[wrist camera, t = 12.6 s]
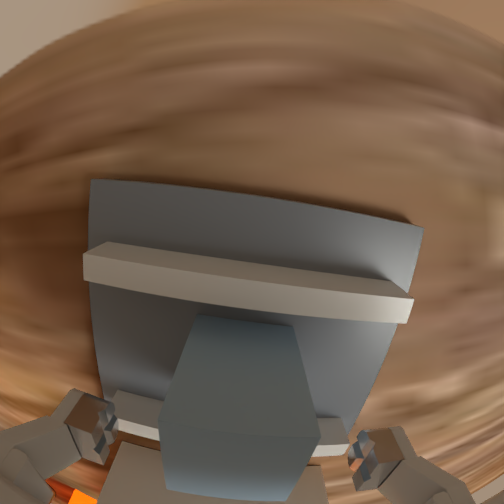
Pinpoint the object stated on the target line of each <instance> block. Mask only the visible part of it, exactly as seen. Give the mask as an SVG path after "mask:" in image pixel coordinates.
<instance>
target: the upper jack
mask: <svg viewBox="0 0 504 504" xmlns="http://www.w3.org/2000/svg"><path fill="white" fill-rule="evenodd" d="M96 504H329V502H328V497H327V493H326V488H325V483H324V478H323V473H322V468H321V466H306V467H305V469H304V471H303V473H302V475H301V476H300V478H299V480H298V482H297V483H296V485H295V487H294V488H293V490H292V492H291V493H290V495H289V497H288V498H287V500H286V501H249V500H235V499H225V498H216V497H208V496H201V495H195V494H189V493H183V492H178V491H173V490H168V489H166V483H165V477H164V470H163V463H162V456H161V451H158V450H154V449H150V448H146V447H142V446H138V445H134V444H131V443H128V442H124V441H122V443H121V445H120V447H119V450H118V452H117V454H116V457H115V459H114V461H113V464H112V466H111V468H110V471H109V473H108V476H107V478H106V480H105V483H104V485H103V488H102V490H101V493H100V495H99V498H98V500H97V503H96Z"/></svg>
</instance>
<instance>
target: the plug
mask: <svg viewBox="0 0 504 504" xmlns="http://www.w3.org/2000/svg"><path fill="white" fill-rule="evenodd" d="M157 421H158V431H159V440H160V448H161V456H162V463H163V470H164V477H165V483H166V489H168V490H173V491H178V492H183V493H189V494H195V495H201V496H208V497H216V498H225V499H235V500H249V501H286V500H287V498H288V497H289V495H290V493H291V492H292V490H293V488H294V487H295V485H296V483H297V482H298V480H299V478H300V476H301V475H302V473H303V471H304V469H305V467H306V465H307V464H308V462H309V460H310V458H311V456H312V454H313V452H314V450H315V448H316V446H317V444H318V442H319V440H320V438H321V434H320V430H319V426H318V421H317V417H316V413H315V409H314V405H313V401H312V397H311V393H310V389H309V385H308V381H307V377H306V373H305V370H304V366H303V362H302V358H301V354H300V350H299V346H298V342H297V339H296V335H295V331H294V327H292V326H282V325H273V324H265V323H257V322H249V321H241V320H234V319H227V318H220V317H213V316H206V315H200V314H197V315H196V318H195V320H194V323H193V326H192V328H191V331H190V333H189V336H188V339H187V341H186V344H185V346H184V349H183V352H182V354H181V357H180V360H179V362H178V365H177V368H176V370H175V373H174V376H173V378H172V381H171V384H170V387H169V389H168V392H167V395H166V397H165V400H164V403H163V406H162V409H161V411H160V414H159V417H158V420H157Z"/></svg>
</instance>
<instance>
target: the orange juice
mask: <svg viewBox="0 0 504 504" xmlns="http://www.w3.org/2000/svg"><path fill="white" fill-rule="evenodd" d="M96 503H97V500H95V499H93V498H91V497H89V496H87V495H85V494H83V493H82V492H80V491H78V490H76V489H75V490H74V492H73V495H72V497H71V499H70V501H69V503H68V504H96Z"/></svg>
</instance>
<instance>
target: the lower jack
mask: <svg viewBox="0 0 504 504" xmlns="http://www.w3.org/2000/svg"><path fill="white" fill-rule="evenodd" d="M423 232H424V228H423V227H420V226H417V225H414V224H410V223H406V222H401V221H397V220H392V219H388V218H383V217H378V216H374V215H369V214H364V213H359V212H354V211H349V210H344V209H338V208H333V207H328V206H322V205H317V204H311V203H305V202H299V201H293V200H287V199H281V198H275V197H268V196H261V195H255V194H248V193H241V192H233V191H226V190H218V189H210V188H201V187H193V186H184V185H174V184H164V183H154V182H143V181H131V180H118V179H103V178H101V179H91V185H90V199H89V218H88V251H87V252H85V253H83V275H84V280H85V281H89V293H90V307H91V318H92V327H93V336H94V343H95V351H96V357H97V363H98V369H99V375H100V380H101V385H102V390H103V395H104V400H107V401H110V402H113V403H114V406H115V412H114V415H115V416H116V417H117V419H118V427H119V429H118V430H121V431H124V432H127V433H131V434H134V435H138V436H142V437H146V438H149V439H154V440H158V441H160V440H159V431H158V421H157V420H158V417H159V414H160V411H161V409H162V406H163V403H164V400H165V397H166V395H167V392H168V389H169V387H170V384H171V381H172V378H173V376H174V373H175V370H176V368H177V365H178V362H179V360H180V357H181V354H182V352H183V349H184V346H185V344H186V341H187V339H188V336H189V333H190V331H191V328H192V326H193V323H194V320H195V318H196V315H197V314H200V315H206V316H213V317H220V318H227V319H234V320H241V321H249V322H257V323H265V324H273V325H282V326H292V327H294V331H295V335H296V339H297V342H298V346H299V350H300V354H301V358H302V362H303V366H304V370H305V373H306V377H307V381H308V385H309V389H310V393H311V397H312V401H313V405H314V409H315V413H316V417H317V421H318V426H319V430H320V434H321V438H320V440H319V442H318V444H317V446H316V448H315V450H314V452H313V454H312V456H335V455H343V454H344V453H345V451H346V449H347V448H348V446H349V444H350V443H349V440H348V437H347V436H348V434H349V432H350V430H351V428H352V427H353V425H354V423H355V421H356V419H357V417H358V415H359V413H360V411H361V409H362V407H363V405H364V403H365V401H366V399H367V397H368V395H369V393H370V391H371V388H372V386H373V384H374V382H375V380H376V377H377V375H378V373H379V371H380V368H381V366H382V363H383V361H384V359H385V356H386V354H387V351H388V349H389V346H390V343H391V341H392V338H393V336H394V333H395V330H396V327H397V324H398V323H405V324H406V323H407V320H408V317H409V314H410V312H411V309H412V306H413V302H414V298H412V297H411V296H410V295H409V294H408V291H409V287H410V284H411V280H412V277H413V273H414V270H415V266H416V262H417V258H418V254H419V250H420V246H421V241H422V237H423Z"/></svg>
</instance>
